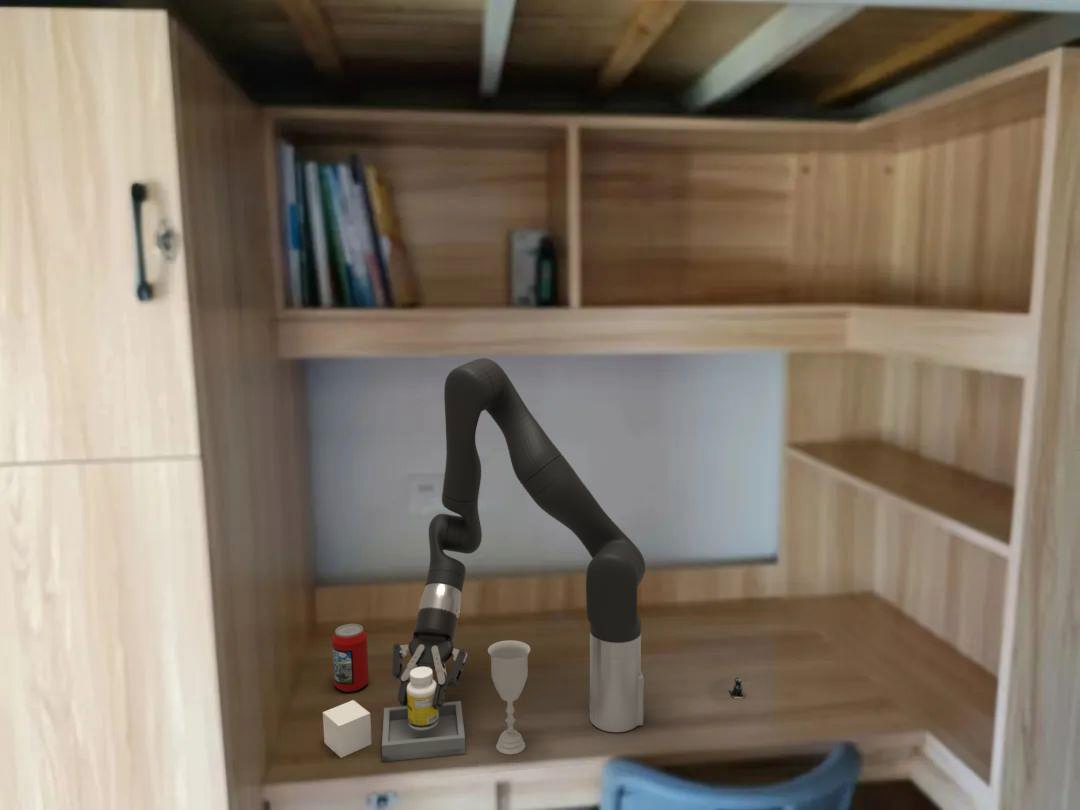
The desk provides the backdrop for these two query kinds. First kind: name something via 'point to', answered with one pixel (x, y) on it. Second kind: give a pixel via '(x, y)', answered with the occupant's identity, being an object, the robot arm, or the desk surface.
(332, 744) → the white cube
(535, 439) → the robot arm
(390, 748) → the tray
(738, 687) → the sculpture
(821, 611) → the desk surface
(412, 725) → the supplement bottle
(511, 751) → the chalice
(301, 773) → the desk surface
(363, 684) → the beverage can
